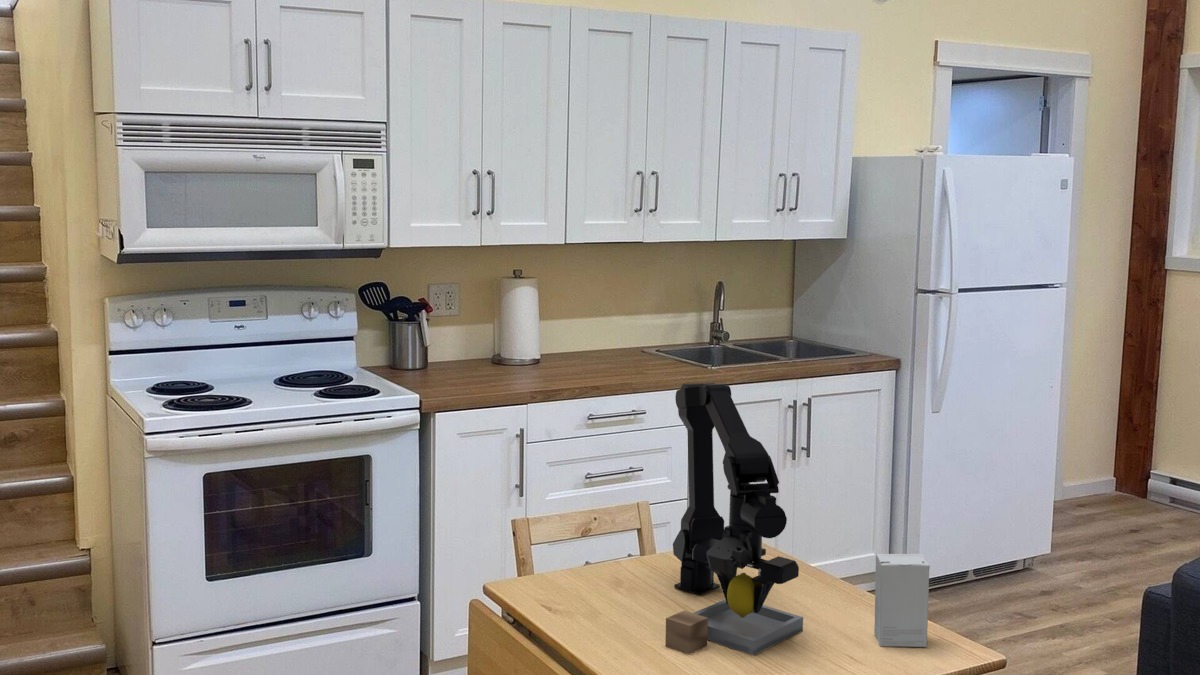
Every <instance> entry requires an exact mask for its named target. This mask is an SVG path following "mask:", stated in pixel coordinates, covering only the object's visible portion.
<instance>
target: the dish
mask: <svg viewBox="0 0 1200 675" xmlns="http://www.w3.org/2000/svg"><path fill="white" fill-rule="evenodd" d="M693 613H694V614H697V615H700V616H704V617H707V618H708V634H707V641H709V642H712V643H715V644H718V645H721V646H724V647H727V648H730V649H733V650H736V651H739V652H740V653H741V652H742V653H744V654H747V655H751V656H755V654H756V655H758V654H760V653H761V652H763V651H765V650H768V649H769V648H772V647H774V646H776V645H777V644H779V643H781V642H783V641H785V640H788V639H789V638H791V637H793V636H795V635H797V634H799V633H801V632H803V631H804V630H803V629H804V617H803V616H800V615H798V614H796V613H795V614H794V613H791V612H788V611H784V610H781V609H778V608H774V607H772V606H768V605H764V604H763V605H762V607H761V609H760V611H759V612H758V613H755V612H754V611H753V612H752V613H750V614H748V615H746V616H745V617H744V618H742V617H740V616H739V615H738V614H736V613H735V612H733V611H732V610H731V608H730V607H729V605H728V604H727V603H726V600H725V599H722V600H720V601H718V602H715V603H714V604H711V605H708V606H706V607H703V608H702V609H699V610H696V611H694V612H693Z"/></svg>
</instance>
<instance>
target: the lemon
mask: <svg viewBox="0 0 1200 675" xmlns="http://www.w3.org/2000/svg"><path fill="white" fill-rule="evenodd" d="M751 578H753V577H752V576H750V575H748V574H747V573H746V572H742V573H740V574H736V576H735V577H734V578H733V579H732V580H731V581H730V583H729V586H728V590H727V602H728V605H729V607H730V608H731V610H732V611H733V612H735V613H736V614H738V615H739V616H740V617H742V618H744V617H745V616H746V615H748V614H750V613H752V612H753V611H754V587H755V586H754V583H753V582H752V580H751Z"/></svg>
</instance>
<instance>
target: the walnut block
mask: <svg viewBox="0 0 1200 675" xmlns="http://www.w3.org/2000/svg"><path fill="white" fill-rule="evenodd" d="M707 634H708V618H707V617H704V616H700V615H697V614H694V612H692V611H691V612H690V611H689V610H688V611H687V610H682V611H679V612H677V613H675V614H673V615H669V616H667V617H666V618H665V647H666V648H670V649H672V650H675V651H678V652H682V653H684V654H687V655H691V654H693V653H695V652H697V651H700V650H702V649H704V648H706V647H707V646H708V640H707ZM699 649H700V650H699Z"/></svg>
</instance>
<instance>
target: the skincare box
mask: <svg viewBox="0 0 1200 675" xmlns="http://www.w3.org/2000/svg"><path fill="white" fill-rule="evenodd" d="M930 568H931V566H930V563H929V562H928V561H927V559H926V557H925V556H924V555H923V553H875V576H874V577H875V584H874V586H875V588H874V590H875V591H874V627H873V628H874V635H875V637H876V638H875V639H876V640H877V642H878V645H879V647H905V648H906V647H910V648H911V647H912V648H913V647H914V648H926V647H928V626H929V625H928V620H929V591H930V590H929V588H930Z"/></svg>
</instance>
